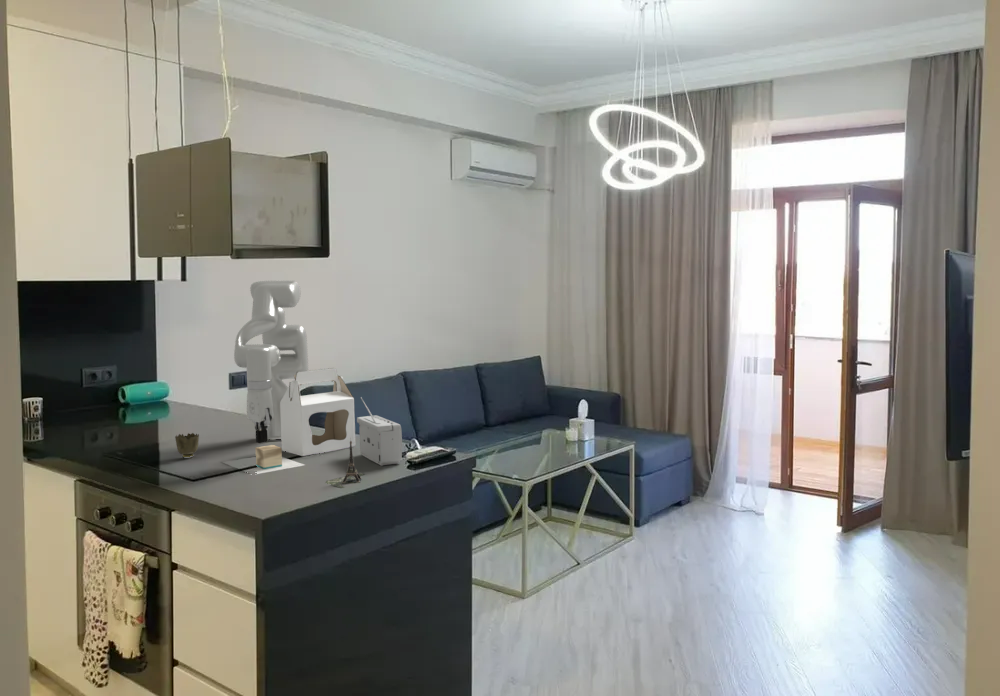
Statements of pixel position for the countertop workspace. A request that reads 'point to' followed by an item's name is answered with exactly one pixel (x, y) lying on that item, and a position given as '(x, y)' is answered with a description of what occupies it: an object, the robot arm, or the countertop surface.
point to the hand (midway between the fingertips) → (261, 442)
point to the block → (268, 456)
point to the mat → (285, 465)
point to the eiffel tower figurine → (347, 474)
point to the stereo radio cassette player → (380, 439)
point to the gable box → (302, 407)
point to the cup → (187, 444)
